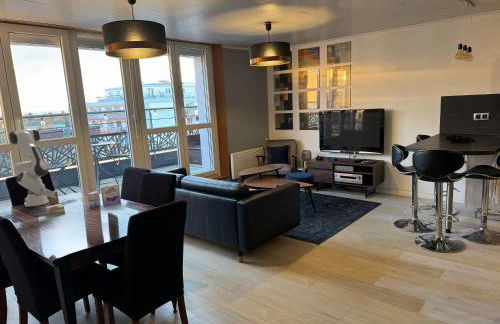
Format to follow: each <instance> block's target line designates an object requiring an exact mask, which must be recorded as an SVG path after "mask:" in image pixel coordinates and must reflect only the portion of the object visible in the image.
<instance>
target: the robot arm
mask: <svg viewBox="0 0 500 324" xmlns="http://www.w3.org/2000/svg"><path fill="white" fill-rule="evenodd" d="M7 137H8V141H9V142H10V143H11V144H12V145H17V148H18V151H19V152H20V154H21V156H22V157H23V158H24V159H25V160H26V161H20V162H17V163H16V164H15V165H14V168H13V169H14V172H15V173H16V174H17V177H16V182H17V183H18V185H20V186H22V187H23V188H25V189H27V196H26V197H25V198H24V206H25V207H38V206H41V205H46V204H48V203H49V197H52V198H54V199H56V198H57V197H56V196H55V193H54V192H52V190H51V189H48V188H46V185H45V184H44V183H43V179H41V177H43V176H46V175H47V174H49V168H50V164H49V162H48V161H47V160H45V159H44V157H43V155H42V152H41V150H40V148H39V147H38V146H36V144H35V142H39V141H40V140H41V137H42V135H41V132H40V131H39V129H36V128H31V129H20V130H16V131H10V132H9V134H8V136H7ZM27 160H28V161H27Z"/></svg>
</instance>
